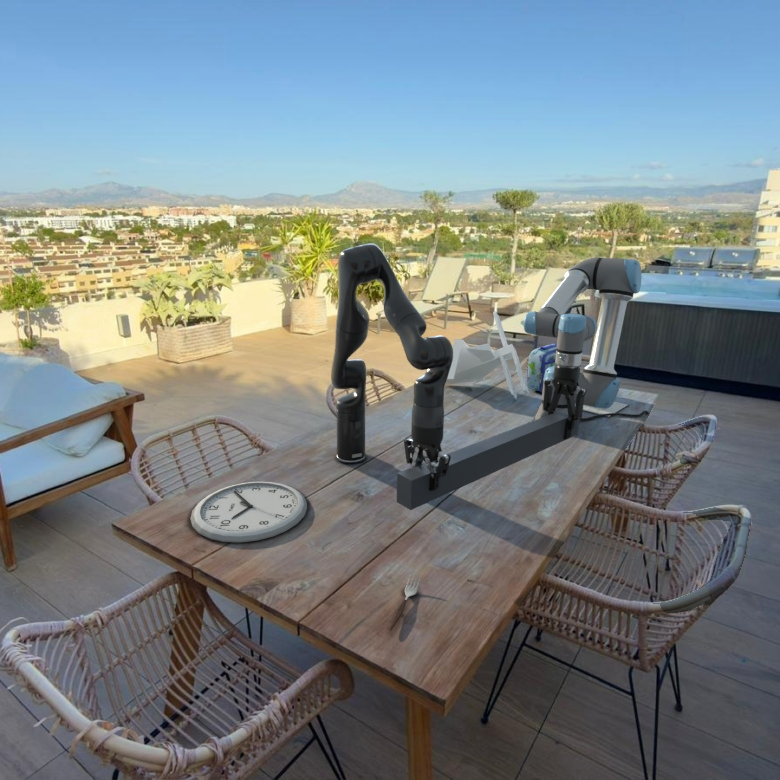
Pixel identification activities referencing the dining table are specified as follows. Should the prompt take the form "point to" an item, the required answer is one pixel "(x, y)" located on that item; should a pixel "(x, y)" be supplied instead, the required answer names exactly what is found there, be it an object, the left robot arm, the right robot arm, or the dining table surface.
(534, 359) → the lunch box
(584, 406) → the invitation card
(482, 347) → the white plastic object
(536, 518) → the dining table surface
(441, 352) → the left robot arm
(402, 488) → the beam
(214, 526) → the wall clock
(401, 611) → the fork
